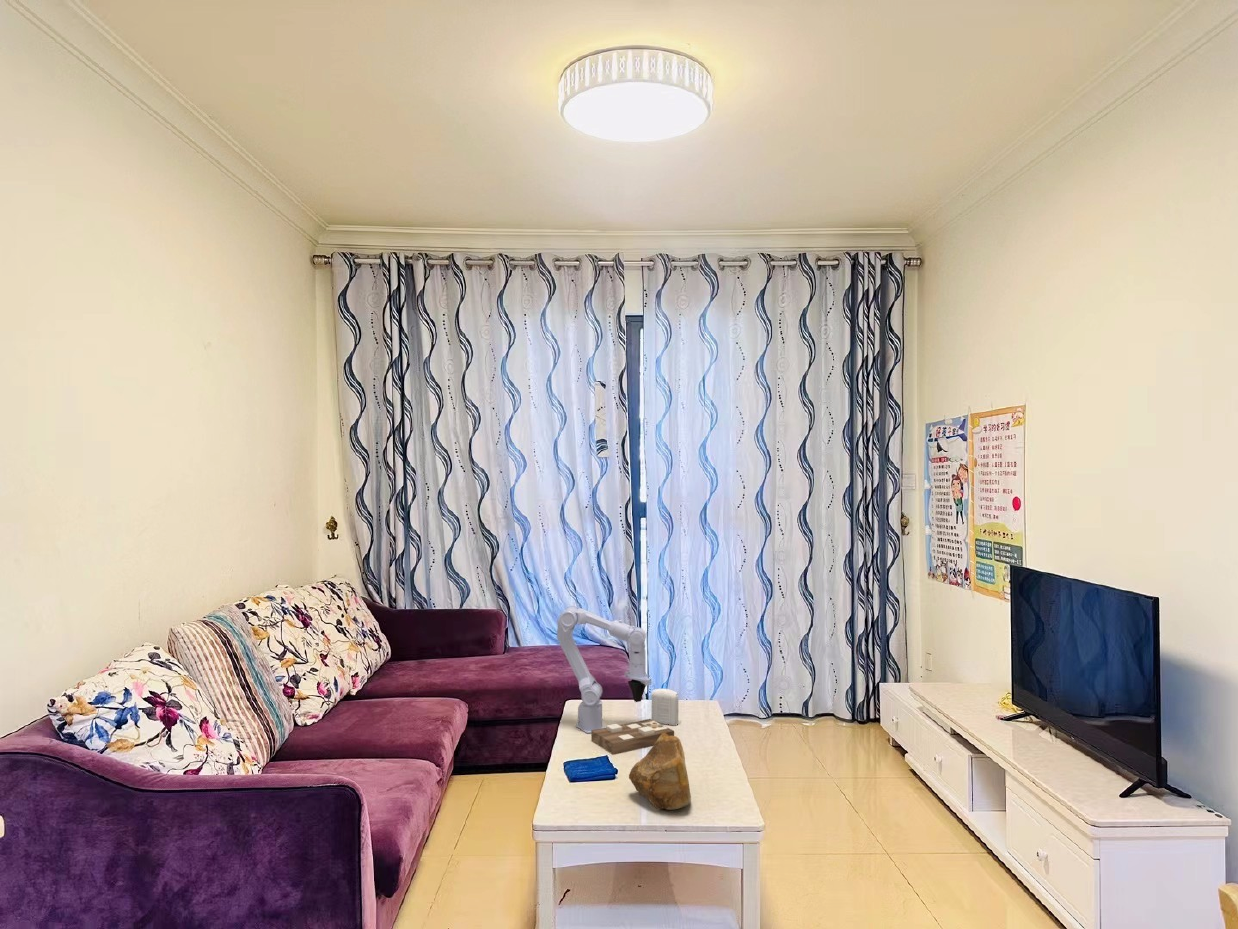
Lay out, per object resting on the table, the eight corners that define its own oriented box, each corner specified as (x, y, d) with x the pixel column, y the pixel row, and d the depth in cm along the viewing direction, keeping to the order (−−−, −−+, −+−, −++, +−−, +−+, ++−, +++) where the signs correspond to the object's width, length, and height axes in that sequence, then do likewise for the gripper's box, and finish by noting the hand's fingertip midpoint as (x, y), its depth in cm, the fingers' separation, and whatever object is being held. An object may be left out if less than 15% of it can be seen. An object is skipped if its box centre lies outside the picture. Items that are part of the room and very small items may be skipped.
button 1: (606, 729, 257) (606, 725, 257) (616, 727, 259) (616, 723, 259) (612, 733, 253) (612, 729, 253) (622, 731, 255) (622, 727, 255)
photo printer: (680, 723, 274) (680, 689, 274) (676, 726, 270) (676, 692, 270) (653, 719, 278) (653, 686, 278) (649, 723, 274) (649, 689, 274)
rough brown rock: (630, 782, 222) (625, 733, 222) (685, 777, 222) (681, 727, 222) (631, 821, 199) (626, 765, 198) (693, 815, 199) (688, 759, 198)
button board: (591, 740, 255) (591, 729, 255) (650, 728, 267) (650, 718, 267) (613, 754, 242) (613, 742, 242) (674, 741, 254) (674, 730, 255)
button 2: (618, 740, 250) (618, 736, 250) (628, 738, 252) (628, 734, 252) (624, 744, 246) (624, 739, 246) (634, 741, 248) (634, 737, 248)
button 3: (626, 729, 261) (626, 725, 261) (635, 727, 263) (635, 723, 263) (632, 732, 257) (632, 728, 257) (642, 730, 259) (641, 726, 259)
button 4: (638, 732, 254) (638, 728, 254) (648, 730, 256) (648, 726, 256) (644, 736, 250) (644, 731, 250) (654, 733, 252) (654, 729, 252)
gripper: (658, 665, 262) (658, 704, 261) (636, 657, 274) (636, 694, 274) (641, 668, 258) (641, 708, 258) (619, 659, 270) (619, 697, 270)
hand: (637, 701), depth 265 cm, fingers closed
